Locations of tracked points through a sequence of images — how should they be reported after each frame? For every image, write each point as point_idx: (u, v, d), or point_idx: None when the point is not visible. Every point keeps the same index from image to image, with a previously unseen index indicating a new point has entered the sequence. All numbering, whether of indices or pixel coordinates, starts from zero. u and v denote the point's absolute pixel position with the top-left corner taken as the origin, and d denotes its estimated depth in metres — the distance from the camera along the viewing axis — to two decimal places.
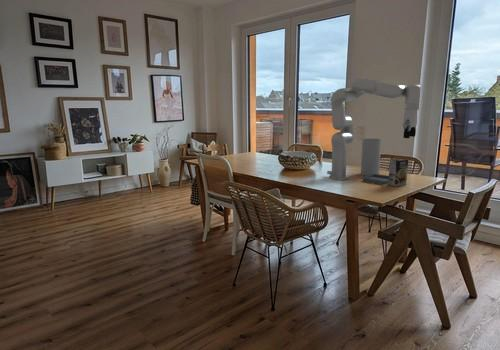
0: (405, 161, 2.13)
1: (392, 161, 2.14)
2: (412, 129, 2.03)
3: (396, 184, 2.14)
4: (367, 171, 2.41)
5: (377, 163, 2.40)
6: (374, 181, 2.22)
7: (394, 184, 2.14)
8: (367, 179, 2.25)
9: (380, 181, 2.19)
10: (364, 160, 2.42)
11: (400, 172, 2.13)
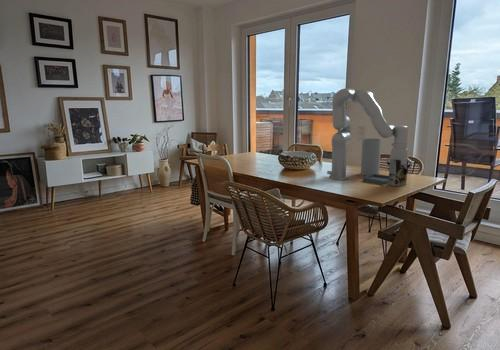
0: None
1: (392, 161, 2.14)
2: None
3: (396, 184, 2.14)
4: (367, 171, 2.41)
5: (377, 163, 2.40)
6: (374, 181, 2.22)
7: (394, 184, 2.14)
8: (367, 179, 2.25)
9: (380, 181, 2.19)
10: (364, 160, 2.42)
11: (400, 172, 2.13)
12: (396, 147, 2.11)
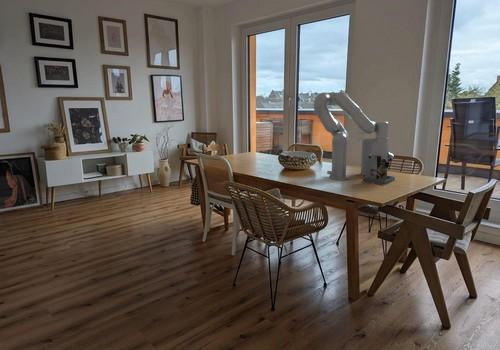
0: None
1: (373, 157, 2.24)
2: None
3: (377, 179, 2.24)
4: (367, 171, 2.41)
5: None
6: (374, 181, 2.22)
7: None
8: (367, 179, 2.25)
9: (380, 181, 2.19)
10: (364, 160, 2.42)
11: (381, 167, 2.23)
12: (377, 142, 2.21)
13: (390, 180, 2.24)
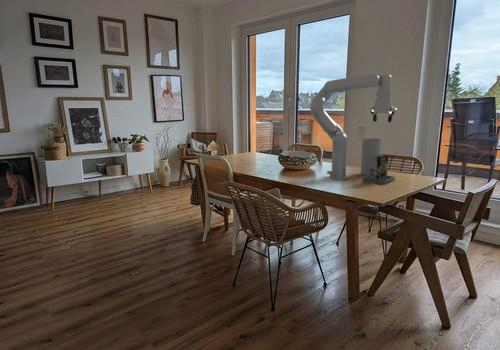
0: (385, 157, 2.23)
1: (373, 157, 2.24)
2: (375, 115, 2.26)
3: (377, 179, 2.24)
4: (367, 171, 2.41)
5: None
6: (374, 181, 2.22)
7: None
8: (367, 179, 2.25)
9: (380, 181, 2.19)
10: (364, 160, 2.42)
11: (381, 167, 2.23)
12: (380, 95, 2.18)
13: (390, 180, 2.24)
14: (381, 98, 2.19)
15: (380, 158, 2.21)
